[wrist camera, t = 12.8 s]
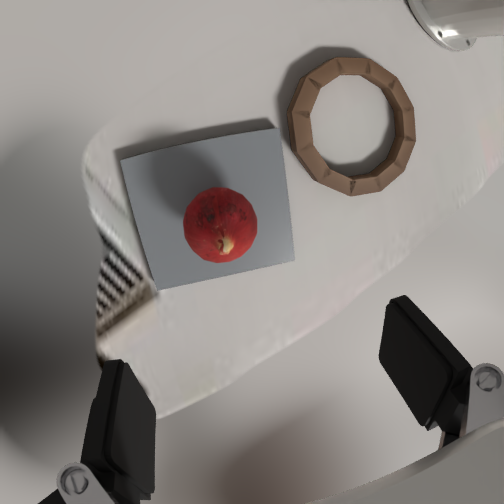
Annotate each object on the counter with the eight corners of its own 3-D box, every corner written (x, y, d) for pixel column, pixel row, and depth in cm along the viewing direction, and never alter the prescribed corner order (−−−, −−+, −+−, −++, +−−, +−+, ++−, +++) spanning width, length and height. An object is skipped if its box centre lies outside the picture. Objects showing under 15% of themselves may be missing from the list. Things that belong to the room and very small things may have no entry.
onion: (172, 196, 26) (165, 227, 19) (233, 168, 26) (249, 187, 19) (201, 251, 29) (205, 297, 21) (257, 225, 29) (281, 263, 21)
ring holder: (399, 63, 25) (408, 62, 24) (408, 182, 31) (416, 185, 30) (278, 61, 24) (283, 58, 22) (297, 200, 30) (302, 205, 28)
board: (275, 127, 26) (279, 127, 25) (291, 255, 32) (294, 260, 31) (123, 158, 25) (120, 160, 24) (158, 284, 30) (157, 290, 29)
